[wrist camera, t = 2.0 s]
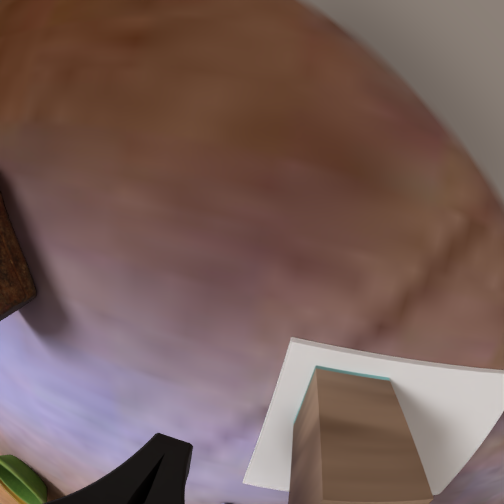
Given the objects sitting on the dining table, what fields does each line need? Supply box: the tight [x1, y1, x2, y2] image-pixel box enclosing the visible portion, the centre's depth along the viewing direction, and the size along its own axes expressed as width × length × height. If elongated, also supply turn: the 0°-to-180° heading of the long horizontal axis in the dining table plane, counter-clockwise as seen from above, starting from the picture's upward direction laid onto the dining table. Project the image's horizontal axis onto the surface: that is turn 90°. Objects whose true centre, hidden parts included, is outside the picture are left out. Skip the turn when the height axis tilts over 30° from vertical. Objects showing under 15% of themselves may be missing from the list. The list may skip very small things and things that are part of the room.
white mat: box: [243, 337, 504, 495], centre depth 15 cm, size 12×16×1 cm
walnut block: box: [288, 365, 434, 504], centre depth 11 cm, size 4×4×8 cm
